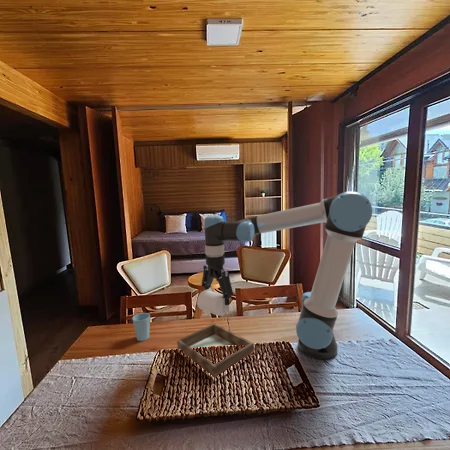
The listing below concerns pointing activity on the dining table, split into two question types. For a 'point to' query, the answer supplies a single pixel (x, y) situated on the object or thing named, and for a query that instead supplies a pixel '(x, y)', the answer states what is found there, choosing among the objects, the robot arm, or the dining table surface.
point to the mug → (210, 302)
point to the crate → (214, 337)
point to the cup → (142, 326)
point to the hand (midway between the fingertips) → (217, 307)
